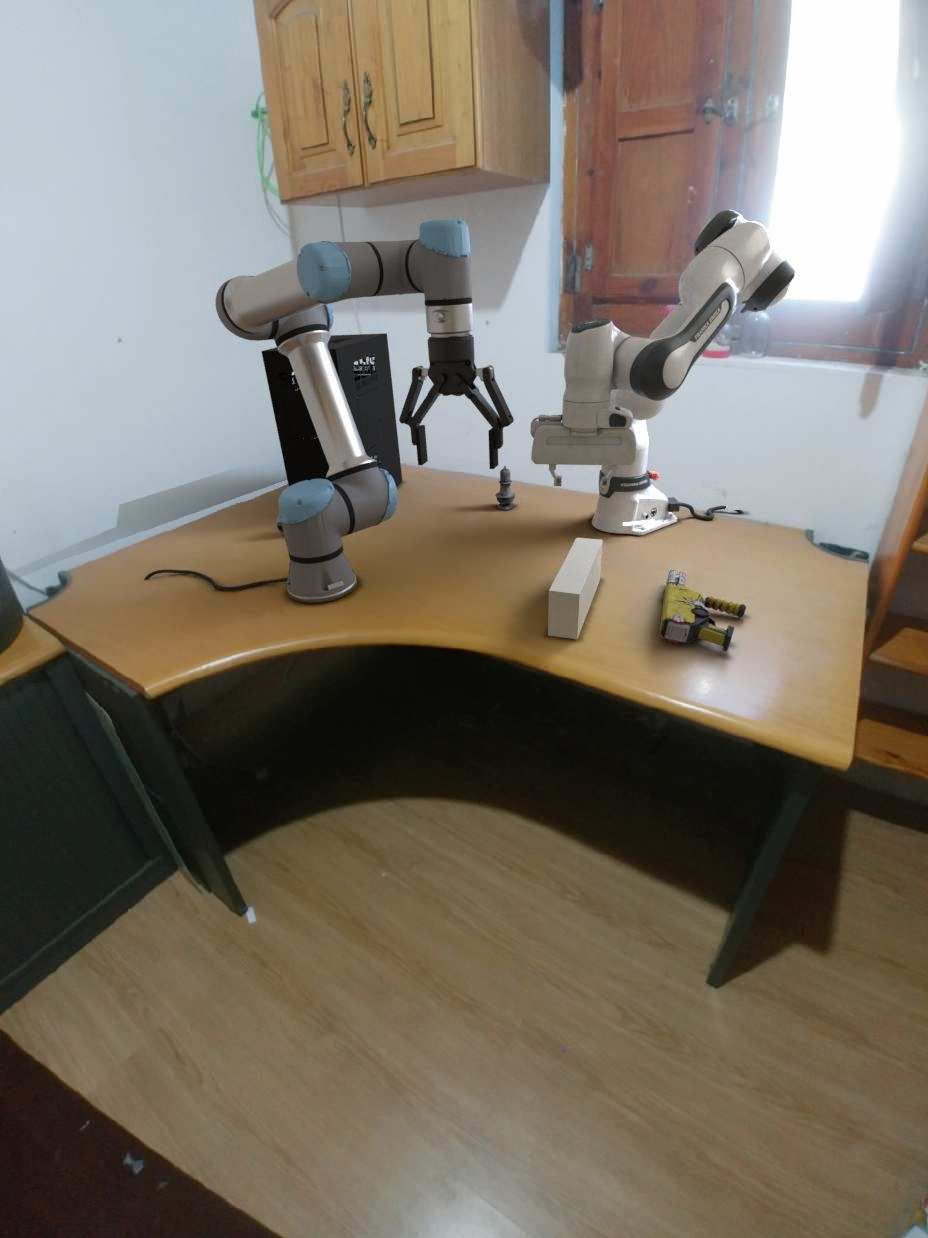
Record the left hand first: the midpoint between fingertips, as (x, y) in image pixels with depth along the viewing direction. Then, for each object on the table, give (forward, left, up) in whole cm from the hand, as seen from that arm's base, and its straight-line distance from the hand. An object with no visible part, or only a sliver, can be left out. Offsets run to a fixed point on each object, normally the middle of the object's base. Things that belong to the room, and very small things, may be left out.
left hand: (457, 465), depth 108 cm
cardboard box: (-62, +55, -30) cm, 88 cm away
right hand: (+18, +20, -9) cm, 28 cm away
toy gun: (+45, +11, -30) cm, 55 cm away
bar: (+20, +9, -30) cm, 38 cm away
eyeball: (-63, +24, -30) cm, 74 cm away
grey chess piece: (-13, +61, -30) cm, 69 cm away
